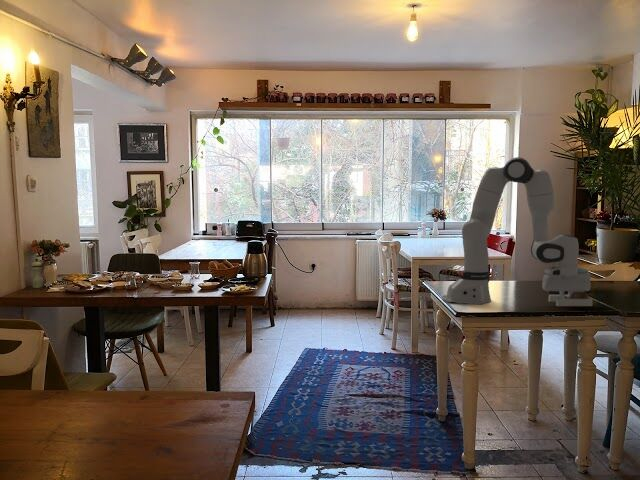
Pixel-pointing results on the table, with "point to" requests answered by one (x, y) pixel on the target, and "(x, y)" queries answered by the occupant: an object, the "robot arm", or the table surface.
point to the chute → (569, 301)
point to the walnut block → (579, 295)
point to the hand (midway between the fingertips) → (565, 300)
